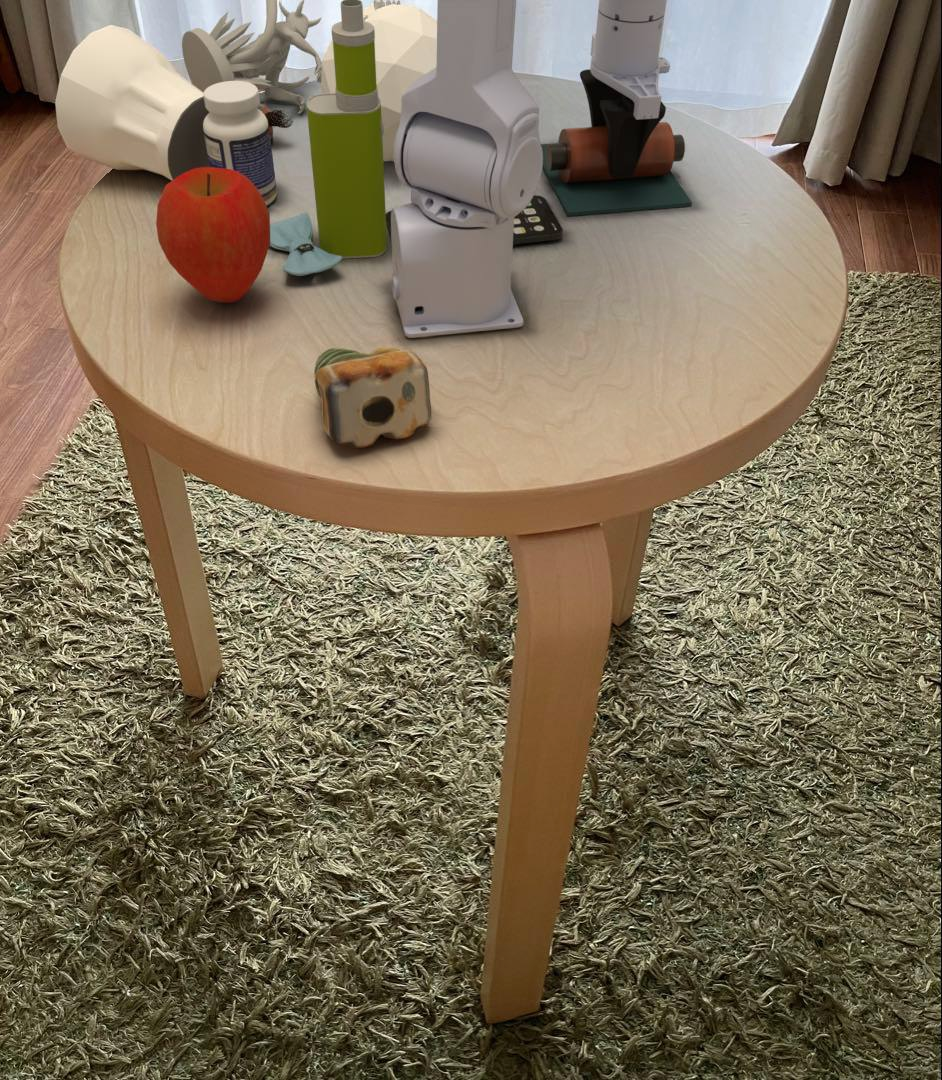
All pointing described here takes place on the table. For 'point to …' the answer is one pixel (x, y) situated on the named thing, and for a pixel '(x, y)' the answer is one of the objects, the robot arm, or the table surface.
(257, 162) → the pill bottle
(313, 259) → the bow tie
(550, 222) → the smartphone
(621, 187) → the pastry mat
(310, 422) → the table surface
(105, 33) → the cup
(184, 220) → the apple
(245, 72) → the demon figurine
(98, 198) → the table surface
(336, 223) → the vape
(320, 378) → the ornament
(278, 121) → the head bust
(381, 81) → the geodesic sphere
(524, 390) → the table surface
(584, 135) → the rolling pin
